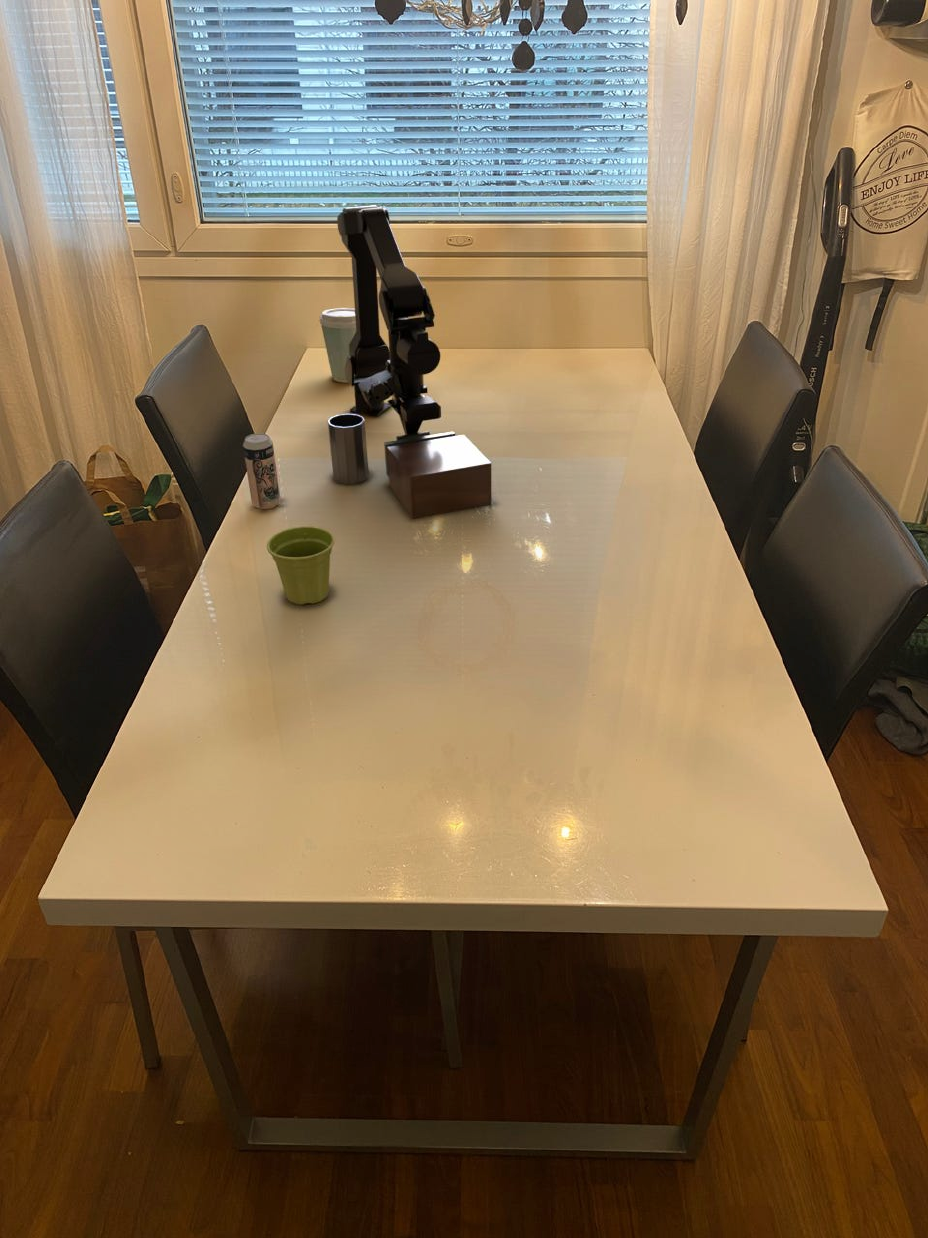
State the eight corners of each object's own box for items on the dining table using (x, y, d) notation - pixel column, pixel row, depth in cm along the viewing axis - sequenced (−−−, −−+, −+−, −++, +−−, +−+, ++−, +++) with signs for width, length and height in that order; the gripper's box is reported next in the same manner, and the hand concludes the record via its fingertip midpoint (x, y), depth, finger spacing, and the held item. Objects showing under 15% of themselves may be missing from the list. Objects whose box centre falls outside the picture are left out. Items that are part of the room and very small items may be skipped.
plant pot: (260, 600, 137) (252, 546, 133) (304, 571, 144) (298, 519, 139) (310, 619, 133) (303, 564, 128) (353, 589, 139) (348, 536, 135)
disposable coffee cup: (328, 370, 219) (322, 303, 211) (375, 369, 219) (370, 303, 211) (320, 386, 211) (314, 317, 202) (369, 386, 210) (364, 317, 202)
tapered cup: (354, 466, 175) (349, 411, 169) (375, 476, 171) (371, 420, 165) (326, 476, 172) (320, 420, 166) (348, 487, 168) (342, 430, 162)
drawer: (379, 464, 174) (377, 433, 170) (446, 453, 177) (445, 422, 174) (407, 502, 161) (405, 469, 158) (478, 489, 164) (477, 457, 161)
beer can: (265, 513, 160) (256, 446, 153) (246, 505, 162) (235, 439, 156) (286, 502, 163) (278, 436, 157) (267, 495, 166) (257, 430, 159)
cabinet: (389, 486, 168) (386, 446, 164) (464, 473, 172) (463, 434, 168) (412, 518, 157) (410, 476, 153) (491, 504, 161) (491, 462, 157)
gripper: (347, 347, 171) (354, 429, 180) (376, 379, 157) (382, 468, 165) (406, 339, 174) (410, 420, 183) (440, 370, 160) (443, 457, 168)
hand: (410, 441), depth 175 cm, fingers closed
